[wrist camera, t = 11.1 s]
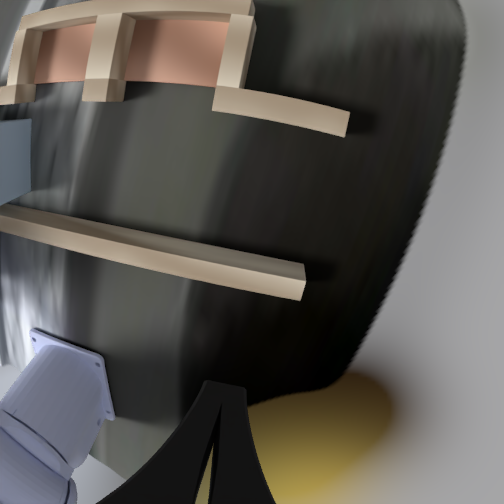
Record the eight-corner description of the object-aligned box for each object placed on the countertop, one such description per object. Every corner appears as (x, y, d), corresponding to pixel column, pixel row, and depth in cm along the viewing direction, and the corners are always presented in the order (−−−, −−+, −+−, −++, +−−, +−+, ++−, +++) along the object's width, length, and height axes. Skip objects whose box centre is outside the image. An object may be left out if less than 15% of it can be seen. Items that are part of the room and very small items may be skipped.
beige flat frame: (298, 282, 19) (301, 311, 16) (-19, 212, 19) (-43, 225, 16) (357, 32, 13) (373, 16, 10) (-10, 35, 13) (-37, 33, 10)
